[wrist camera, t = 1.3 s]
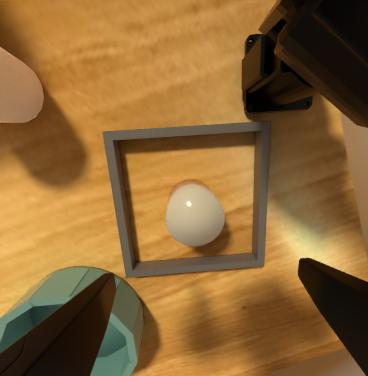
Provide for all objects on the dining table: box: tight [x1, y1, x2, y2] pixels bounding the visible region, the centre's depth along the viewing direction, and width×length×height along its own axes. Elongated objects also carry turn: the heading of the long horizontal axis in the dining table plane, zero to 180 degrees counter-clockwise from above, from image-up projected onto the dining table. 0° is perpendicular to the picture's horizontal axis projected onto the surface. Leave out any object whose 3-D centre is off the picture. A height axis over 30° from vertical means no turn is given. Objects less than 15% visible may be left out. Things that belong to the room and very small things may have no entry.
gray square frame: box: [103, 121, 271, 278], centre depth 19 cm, size 16×16×2 cm
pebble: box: [166, 179, 225, 246], centre depth 18 cm, size 5×5×5 cm
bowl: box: [0, 266, 144, 376], centre depth 21 cm, size 14×14×4 cm
